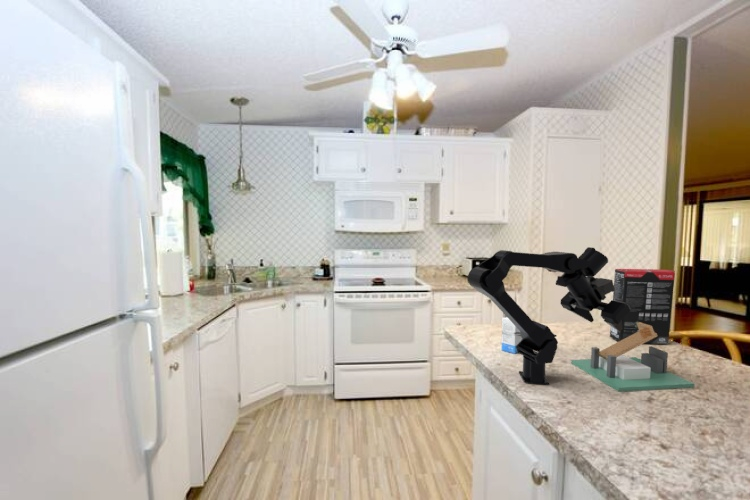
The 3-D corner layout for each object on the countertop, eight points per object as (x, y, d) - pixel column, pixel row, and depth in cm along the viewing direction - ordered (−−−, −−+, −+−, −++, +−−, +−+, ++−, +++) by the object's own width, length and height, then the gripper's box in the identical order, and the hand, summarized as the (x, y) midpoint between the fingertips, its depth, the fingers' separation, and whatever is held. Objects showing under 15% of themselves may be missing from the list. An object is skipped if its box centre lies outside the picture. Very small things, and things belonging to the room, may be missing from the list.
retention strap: (609, 361, 93) (605, 350, 93) (598, 355, 97) (594, 345, 97) (657, 336, 94) (653, 325, 94) (644, 331, 98) (640, 321, 98)
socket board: (618, 391, 86) (619, 365, 86) (571, 363, 104) (572, 341, 104) (694, 387, 89) (696, 361, 88) (635, 360, 106) (636, 338, 106)
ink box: (515, 354, 112) (516, 311, 110) (500, 350, 115) (502, 308, 114) (525, 347, 117) (526, 307, 116) (511, 344, 121) (512, 304, 120)
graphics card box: (657, 339, 126) (661, 268, 124) (671, 345, 119) (676, 270, 117) (609, 337, 128) (612, 267, 125) (620, 344, 121) (624, 270, 119)
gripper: (629, 273, 87) (656, 315, 90) (572, 265, 105) (596, 300, 109) (602, 301, 86) (630, 343, 89) (548, 288, 104) (573, 323, 107)
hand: (605, 325), depth 98 cm, fingers open, 9 cm apart
